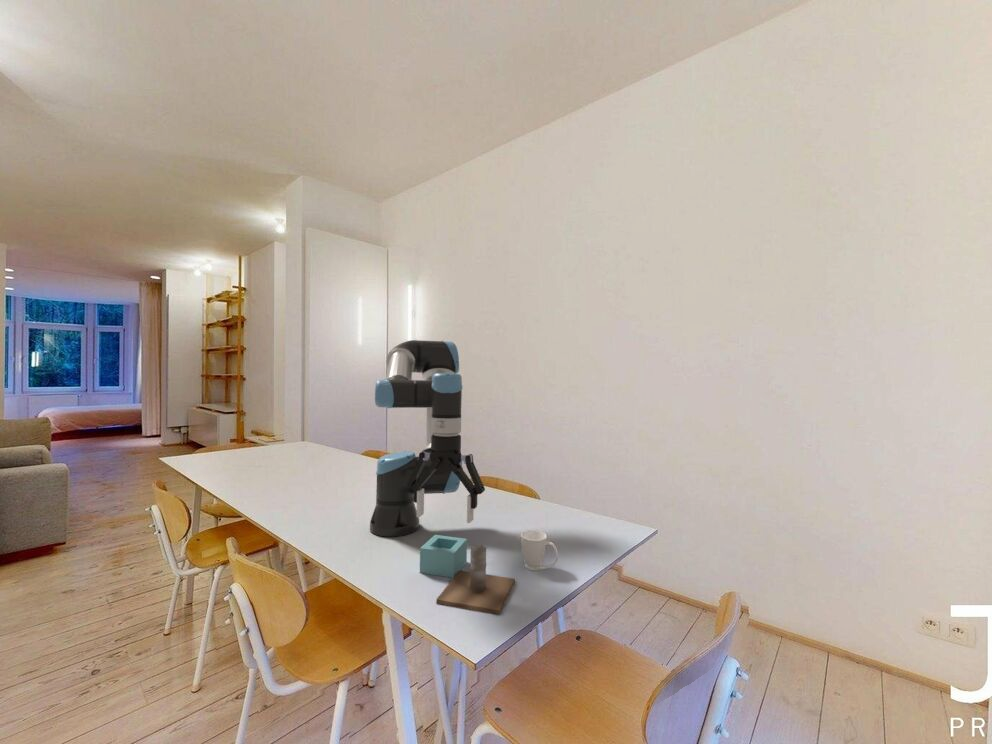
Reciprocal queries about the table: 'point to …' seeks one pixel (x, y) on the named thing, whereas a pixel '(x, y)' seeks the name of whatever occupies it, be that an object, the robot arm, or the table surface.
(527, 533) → the cup
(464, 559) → the collar
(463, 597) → the post stand
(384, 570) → the table surface
